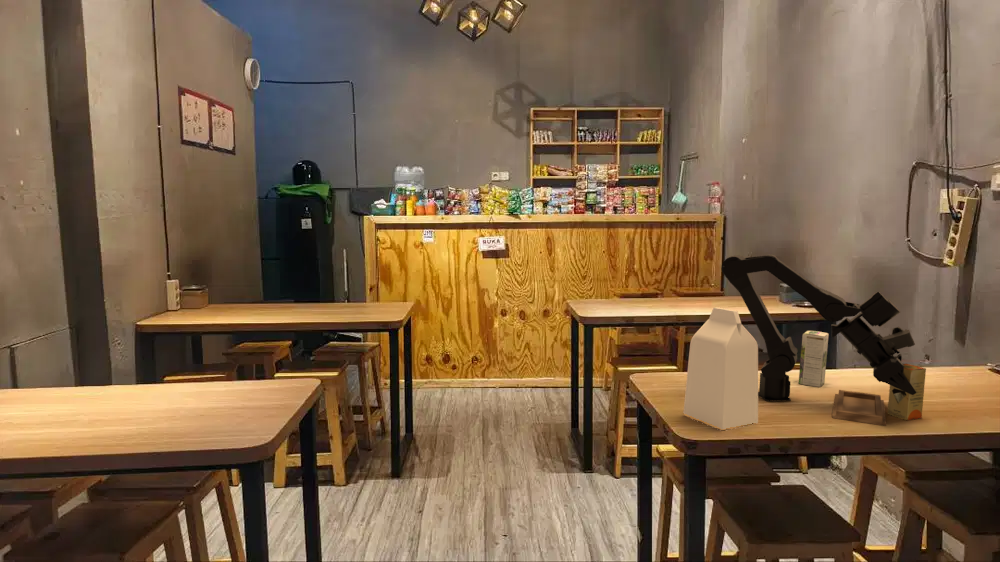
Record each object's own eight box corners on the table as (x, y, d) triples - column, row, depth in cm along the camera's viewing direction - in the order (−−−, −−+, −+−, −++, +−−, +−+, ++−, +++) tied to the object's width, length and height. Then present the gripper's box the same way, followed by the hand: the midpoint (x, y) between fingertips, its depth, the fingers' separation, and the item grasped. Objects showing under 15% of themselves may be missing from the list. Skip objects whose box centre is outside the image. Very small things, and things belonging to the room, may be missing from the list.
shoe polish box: (906, 420, 154) (911, 370, 152) (887, 414, 158) (891, 365, 157) (921, 418, 155) (925, 368, 154) (902, 411, 160) (906, 363, 159)
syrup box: (802, 379, 188) (805, 329, 186) (825, 383, 185) (828, 332, 183) (798, 384, 184) (801, 333, 182) (821, 387, 180) (825, 335, 178)
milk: (683, 415, 156) (687, 307, 153) (717, 408, 162) (722, 303, 159) (722, 431, 146) (728, 315, 143) (758, 423, 151) (764, 311, 148)
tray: (831, 417, 155) (832, 410, 155) (835, 396, 173) (835, 389, 172) (885, 425, 150) (886, 418, 150) (883, 402, 167) (884, 395, 167)
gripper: (894, 324, 148) (949, 378, 144) (891, 312, 164) (940, 360, 160) (852, 354, 152) (904, 408, 149) (853, 339, 169) (900, 387, 165)
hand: (913, 389), depth 155 cm, fingers closed on shoe polish box, 7 cm apart
